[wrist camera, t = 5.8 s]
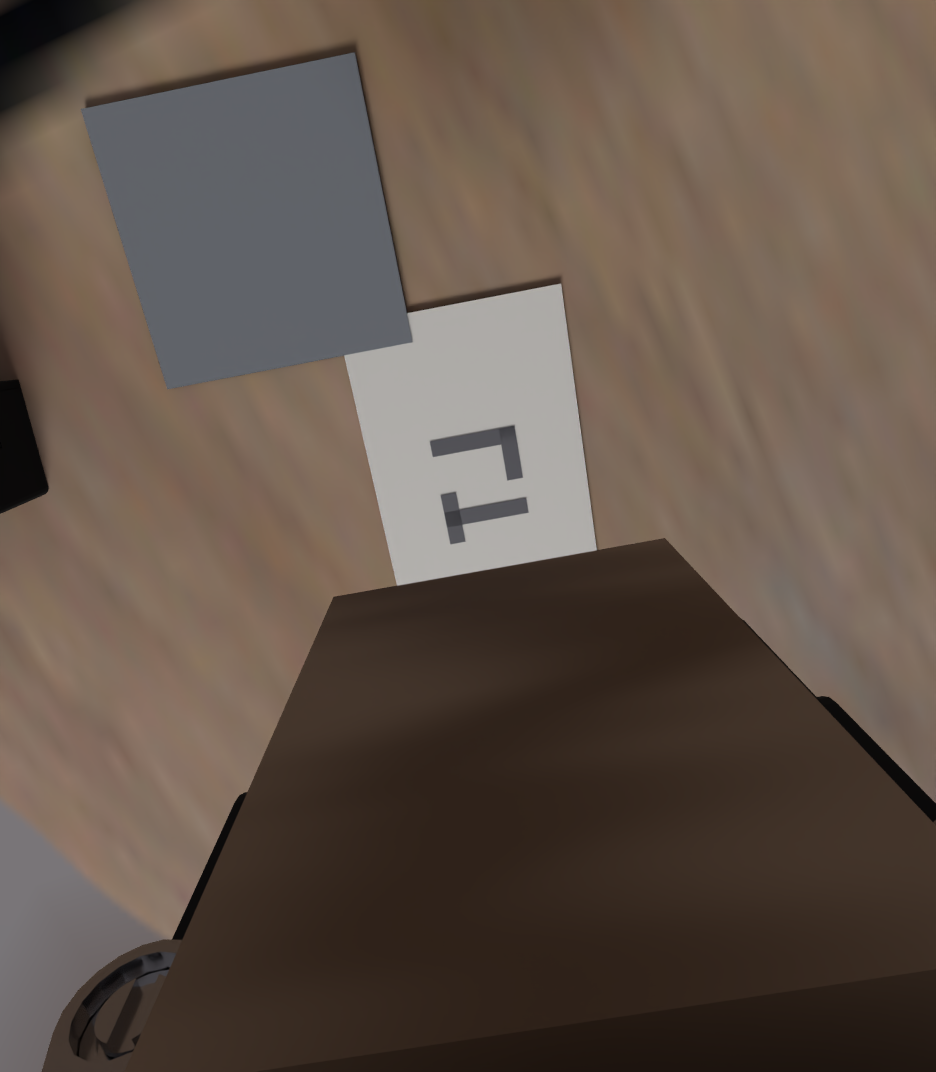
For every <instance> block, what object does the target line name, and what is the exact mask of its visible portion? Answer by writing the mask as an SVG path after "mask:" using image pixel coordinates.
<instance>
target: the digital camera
mask: <svg viewBox="0 0 936 1072" xmlns="http://www.w3.org/2000/svg"><path fill="white" fill-rule="evenodd" d="M47 492H48V485H47V481H46V478H45V474H44V470H43V467H42V463H41V459H40V456H39V452H38V448H37V445H36V441H35V438H34V434H33V430H32V427H31V423H30V419H29V416H28V412H27V409H26V405H25V401H24V398H23V394H22V390H21V387H20V383H19V380H9V381H0V514H1V513H3V512H5V511H8V510H10V509H12V508H15V507H17V506H19V505H21V504H24V503H26V502H28V501H31V500H33V499H35V498H37V497H40V496H42V495H44V494H46V493H47Z"/></svg>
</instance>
